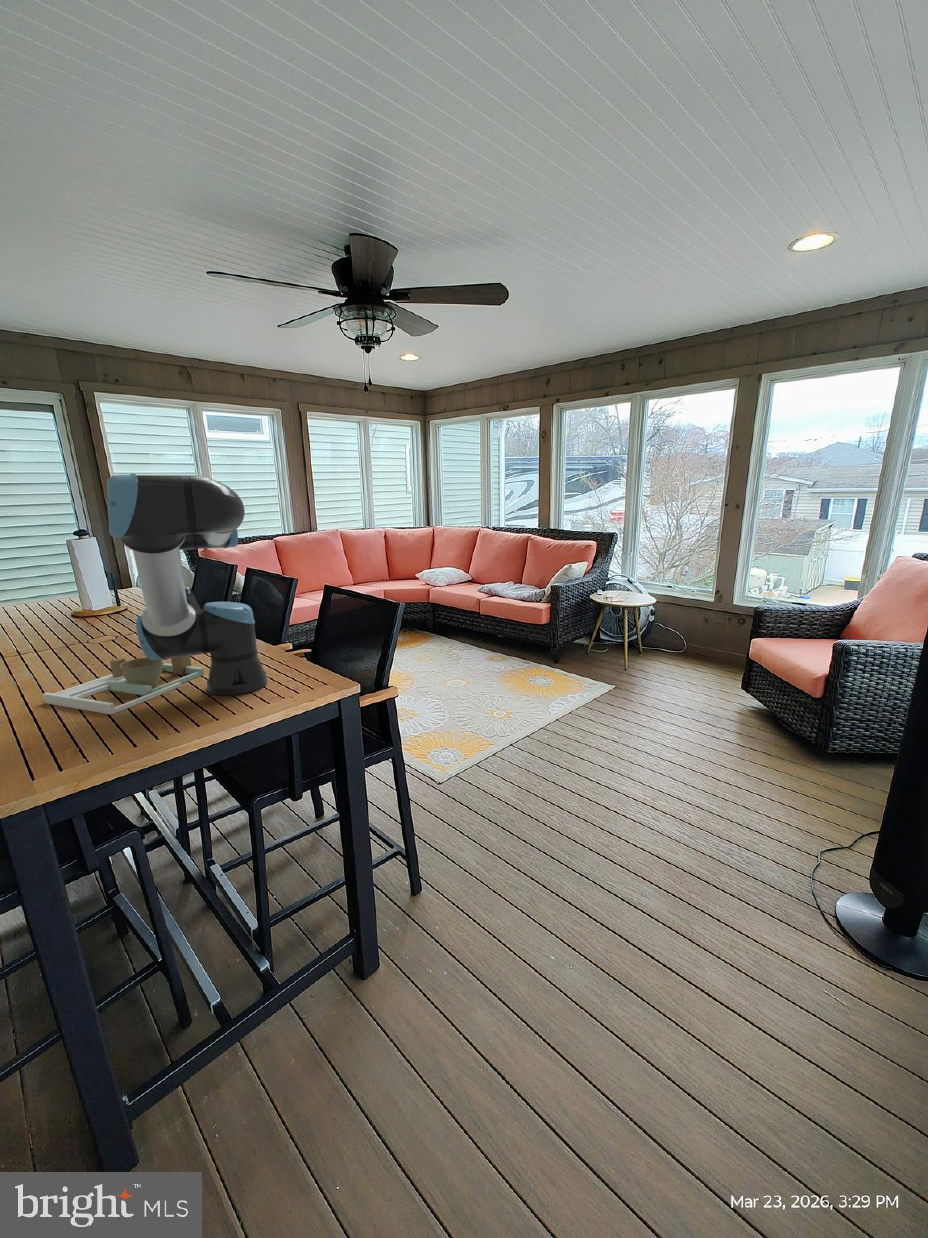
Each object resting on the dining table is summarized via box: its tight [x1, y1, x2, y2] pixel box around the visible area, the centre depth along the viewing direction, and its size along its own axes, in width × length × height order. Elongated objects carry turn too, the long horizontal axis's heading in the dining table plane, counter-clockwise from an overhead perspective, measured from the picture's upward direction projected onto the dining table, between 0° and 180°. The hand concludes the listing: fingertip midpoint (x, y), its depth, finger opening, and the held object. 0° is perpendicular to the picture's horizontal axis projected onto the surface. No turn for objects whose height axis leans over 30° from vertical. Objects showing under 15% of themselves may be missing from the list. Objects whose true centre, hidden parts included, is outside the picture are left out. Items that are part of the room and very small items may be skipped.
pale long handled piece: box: [59, 657, 126, 696], centre depth 138 cm, size 4×19×6 cm, turn 161°
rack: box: [42, 673, 182, 715], centre depth 134 cm, size 26×20×2 cm
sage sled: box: [107, 656, 205, 696], centre depth 143 cm, size 15×19×10 cm
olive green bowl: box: [120, 656, 164, 689], centre depth 139 cm, size 10×10×7 cm
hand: (178, 642), depth 148 cm, fingers open, 13 cm apart
